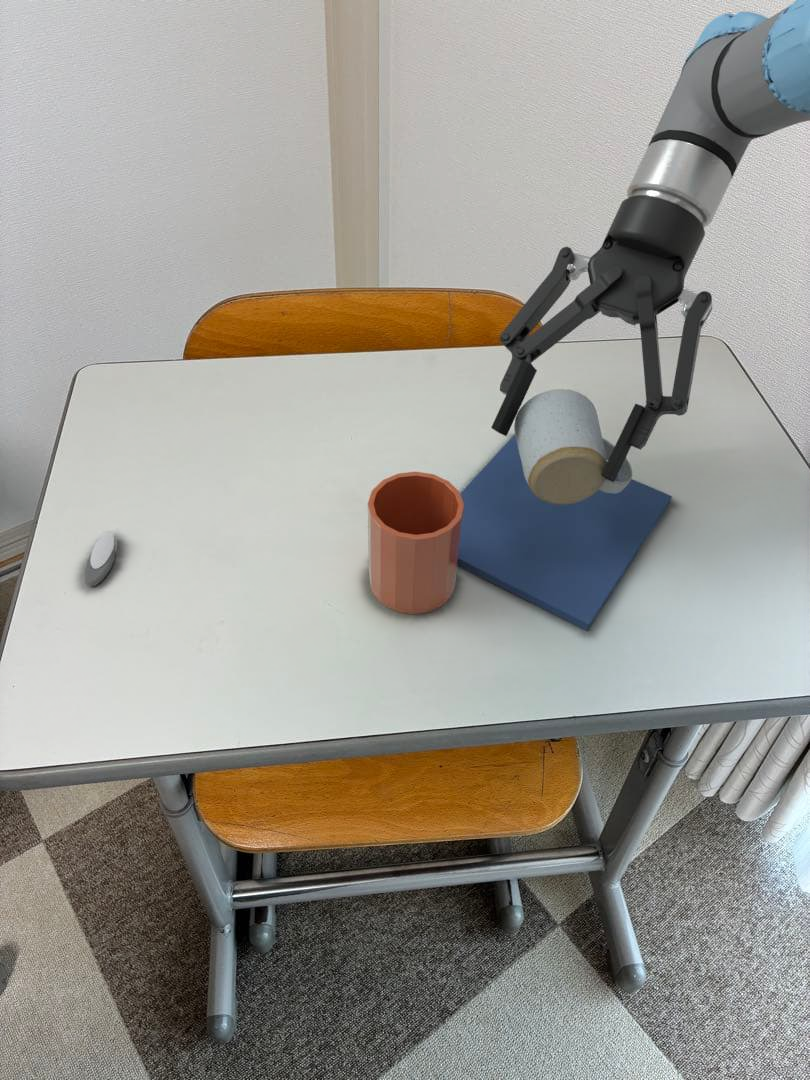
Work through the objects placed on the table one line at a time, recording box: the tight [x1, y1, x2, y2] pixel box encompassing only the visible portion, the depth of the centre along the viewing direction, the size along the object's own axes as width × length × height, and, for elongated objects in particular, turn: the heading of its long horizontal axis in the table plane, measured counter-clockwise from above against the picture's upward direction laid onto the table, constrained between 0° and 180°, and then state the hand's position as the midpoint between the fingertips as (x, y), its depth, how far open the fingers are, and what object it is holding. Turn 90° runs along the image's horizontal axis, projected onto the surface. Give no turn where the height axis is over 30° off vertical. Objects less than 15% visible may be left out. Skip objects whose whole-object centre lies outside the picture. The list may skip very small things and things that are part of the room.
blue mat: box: [458, 433, 673, 631], centre depth 79 cm, size 18×20×1 cm
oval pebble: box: [84, 530, 118, 587], centre depth 75 cm, size 6×2×1 cm, turn 174°
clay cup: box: [367, 471, 464, 615], centre depth 71 cm, size 8×8×10 cm
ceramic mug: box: [513, 388, 633, 505], centre depth 71 cm, size 11×8×8 cm
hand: (551, 454), depth 70 cm, fingers closed on ceramic mug, 10 cm apart
